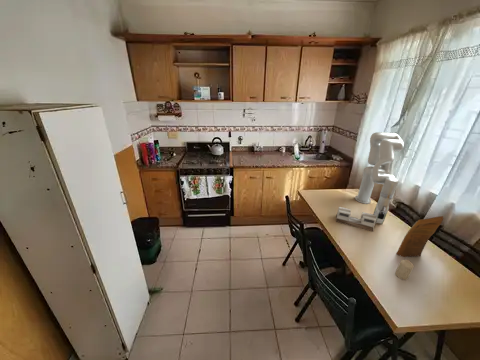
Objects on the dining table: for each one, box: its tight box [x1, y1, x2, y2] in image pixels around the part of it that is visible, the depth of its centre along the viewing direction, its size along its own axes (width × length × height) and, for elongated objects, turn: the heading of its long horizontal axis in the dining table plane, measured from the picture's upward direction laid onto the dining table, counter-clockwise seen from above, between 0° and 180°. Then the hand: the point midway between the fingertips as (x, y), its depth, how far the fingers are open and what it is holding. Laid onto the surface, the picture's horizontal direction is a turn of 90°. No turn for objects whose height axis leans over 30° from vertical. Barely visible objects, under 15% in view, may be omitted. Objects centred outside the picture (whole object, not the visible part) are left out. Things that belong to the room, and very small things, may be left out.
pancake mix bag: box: [395, 215, 444, 258], centre depth 120 cm, size 7×19×28 cm, turn 95°
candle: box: [395, 259, 415, 281], centre depth 109 cm, size 6×6×10 cm
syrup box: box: [372, 202, 390, 225], centre depth 154 cm, size 6×6×14 cm
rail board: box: [335, 206, 376, 232], centre depth 153 cm, size 10×24×8 cm, turn 65°
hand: (379, 215), depth 154 cm, fingers open, 9 cm apart
